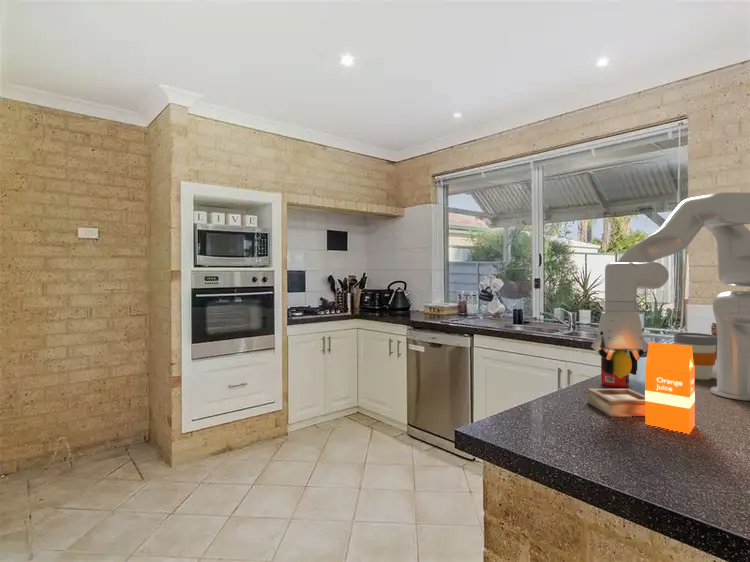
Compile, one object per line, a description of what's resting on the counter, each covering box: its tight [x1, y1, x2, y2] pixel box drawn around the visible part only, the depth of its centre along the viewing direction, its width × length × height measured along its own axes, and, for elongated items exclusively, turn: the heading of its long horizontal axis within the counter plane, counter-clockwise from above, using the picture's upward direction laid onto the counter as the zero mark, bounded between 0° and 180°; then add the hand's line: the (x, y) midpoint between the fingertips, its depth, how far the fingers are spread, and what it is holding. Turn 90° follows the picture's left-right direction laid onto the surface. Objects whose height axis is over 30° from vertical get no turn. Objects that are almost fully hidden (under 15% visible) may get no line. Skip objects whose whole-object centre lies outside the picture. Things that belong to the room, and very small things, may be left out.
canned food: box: [600, 350, 630, 388], centre depth 138 cm, size 8×8×11 cm
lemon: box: [611, 350, 632, 378], centre depth 114 cm, size 6×6×8 cm
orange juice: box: [644, 341, 696, 435], centre depth 101 cm, size 8×9×20 cm
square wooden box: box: [587, 388, 645, 417], centre depth 114 cm, size 12×12×4 cm
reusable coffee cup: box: [673, 332, 717, 380], centre depth 149 cm, size 12×13×15 cm
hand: (620, 372), depth 114 cm, fingers closed on lemon, 5 cm apart
